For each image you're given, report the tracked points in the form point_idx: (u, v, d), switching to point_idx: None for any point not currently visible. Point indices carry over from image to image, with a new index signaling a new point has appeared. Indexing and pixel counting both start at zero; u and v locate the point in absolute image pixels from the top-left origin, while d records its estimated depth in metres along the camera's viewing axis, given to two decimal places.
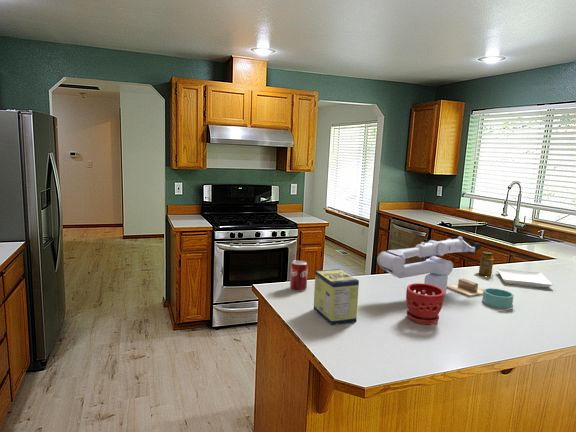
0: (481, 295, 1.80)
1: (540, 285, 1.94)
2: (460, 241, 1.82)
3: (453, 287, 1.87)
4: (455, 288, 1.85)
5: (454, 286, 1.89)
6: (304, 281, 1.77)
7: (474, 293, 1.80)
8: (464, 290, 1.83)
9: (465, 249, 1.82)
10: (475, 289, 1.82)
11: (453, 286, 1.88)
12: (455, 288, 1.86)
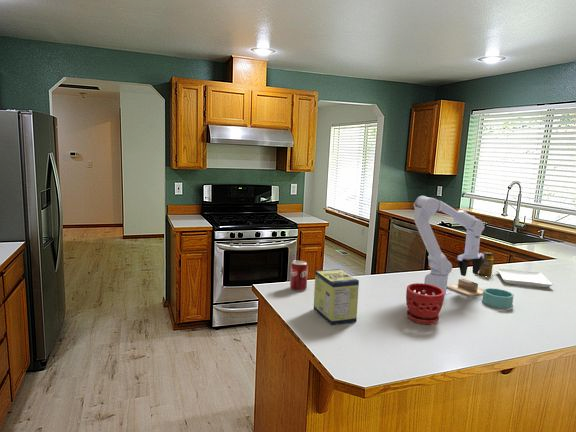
0: (481, 295, 1.80)
1: (540, 285, 1.94)
2: (473, 253, 1.80)
3: (453, 287, 1.87)
4: (455, 288, 1.85)
5: (454, 286, 1.89)
6: (304, 281, 1.77)
7: (474, 293, 1.80)
8: (464, 290, 1.83)
9: None
10: (475, 289, 1.82)
11: (453, 286, 1.88)
12: (455, 288, 1.86)
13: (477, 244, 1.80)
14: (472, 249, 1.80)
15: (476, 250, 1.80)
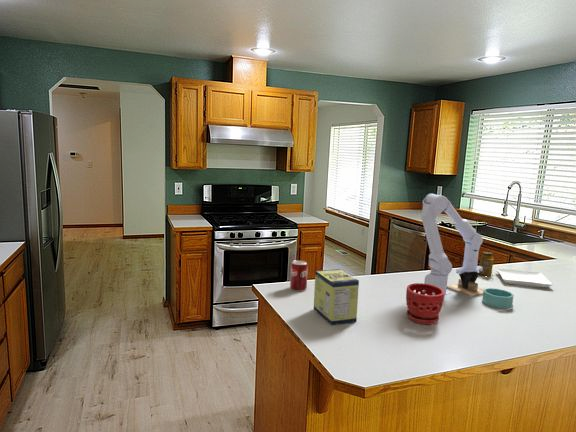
0: (481, 295, 1.80)
1: (540, 285, 1.94)
2: (471, 267, 1.81)
3: (453, 287, 1.87)
4: (455, 288, 1.85)
5: (454, 286, 1.89)
6: (304, 281, 1.77)
7: (474, 293, 1.80)
8: (464, 290, 1.83)
9: (462, 269, 1.83)
10: (475, 289, 1.82)
11: (453, 286, 1.88)
12: (455, 288, 1.86)
13: (475, 257, 1.81)
14: (470, 262, 1.81)
15: (474, 263, 1.81)
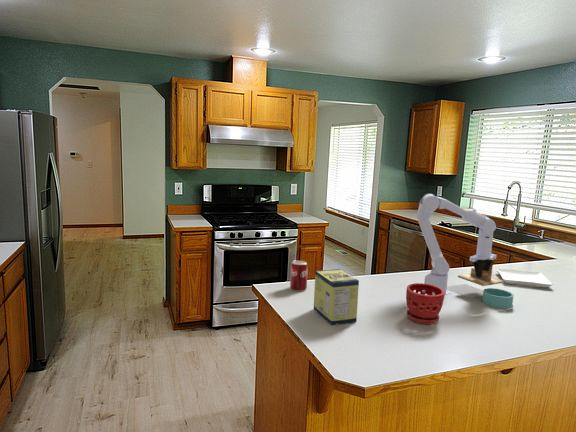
0: (481, 295, 1.80)
1: (540, 285, 1.94)
2: (485, 254, 1.74)
3: (466, 276, 1.80)
4: (468, 277, 1.79)
5: (466, 275, 1.82)
6: (304, 281, 1.77)
7: (488, 282, 1.73)
8: (477, 279, 1.76)
9: None
10: (489, 278, 1.75)
11: (466, 275, 1.81)
12: (467, 277, 1.79)
13: (487, 245, 1.73)
14: (485, 250, 1.74)
15: (489, 251, 1.74)
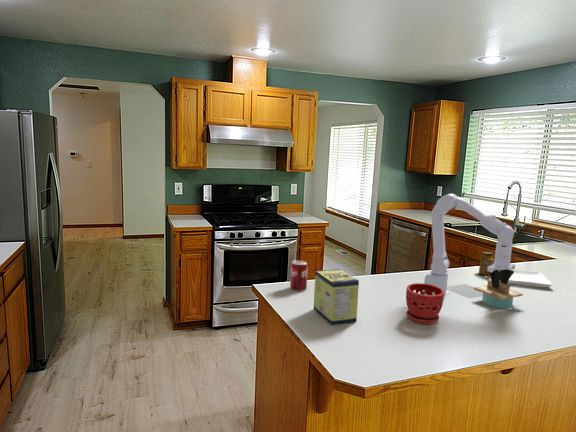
0: (481, 295, 1.80)
1: (540, 285, 1.94)
2: (504, 264, 1.66)
3: (482, 289, 1.72)
4: (484, 290, 1.71)
5: (483, 287, 1.74)
6: (304, 281, 1.77)
7: (506, 295, 1.65)
8: (495, 292, 1.68)
9: None
10: (507, 291, 1.67)
11: (482, 287, 1.73)
12: (484, 289, 1.71)
13: (504, 254, 1.65)
14: (503, 260, 1.65)
15: (508, 261, 1.66)
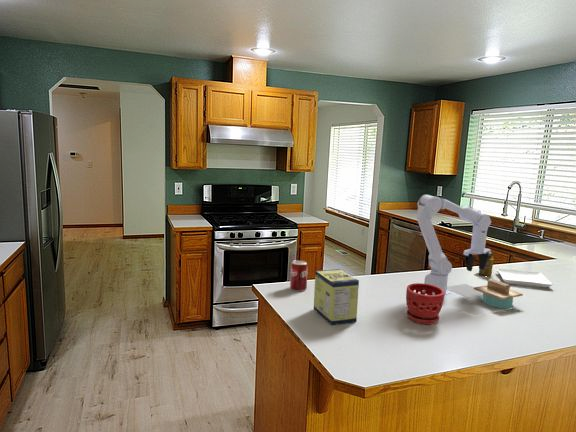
0: (481, 295, 1.80)
1: (540, 285, 1.94)
2: (479, 248, 1.79)
3: (482, 289, 1.72)
4: (484, 290, 1.71)
5: (483, 287, 1.74)
6: (304, 281, 1.77)
7: (506, 295, 1.65)
8: (495, 292, 1.68)
9: None
10: (507, 291, 1.67)
11: (482, 287, 1.73)
12: (484, 289, 1.71)
13: (483, 239, 1.79)
14: (478, 244, 1.79)
15: (482, 245, 1.79)
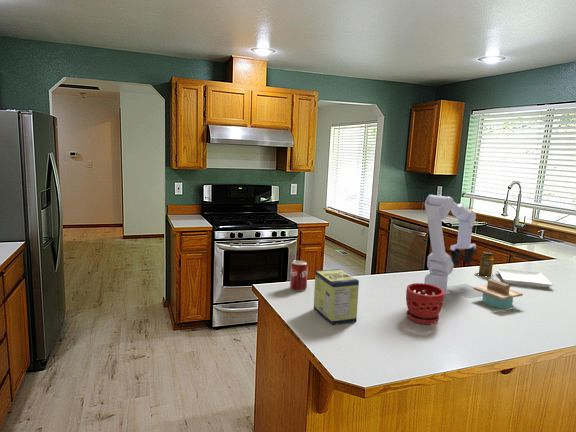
0: (481, 295, 1.80)
1: (540, 285, 1.94)
2: (465, 243, 1.89)
3: (482, 289, 1.72)
4: (484, 290, 1.71)
5: (483, 287, 1.74)
6: (304, 281, 1.77)
7: (506, 295, 1.65)
8: (495, 292, 1.68)
9: None
10: (507, 291, 1.67)
11: (482, 287, 1.73)
12: (484, 289, 1.71)
13: None
14: (464, 239, 1.88)
15: (468, 240, 1.88)
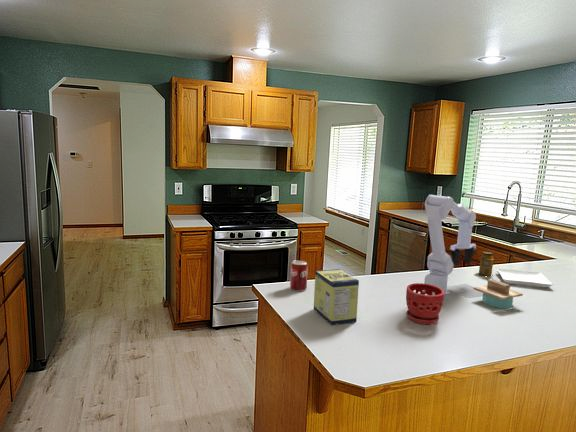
0: (481, 295, 1.80)
1: (540, 285, 1.94)
2: (465, 243, 1.89)
3: (482, 289, 1.72)
4: (484, 290, 1.71)
5: (483, 287, 1.74)
6: (304, 281, 1.77)
7: (506, 295, 1.65)
8: (495, 292, 1.68)
9: None
10: (507, 291, 1.67)
11: (482, 287, 1.73)
12: (484, 289, 1.71)
13: None
14: (464, 239, 1.88)
15: (468, 240, 1.88)
